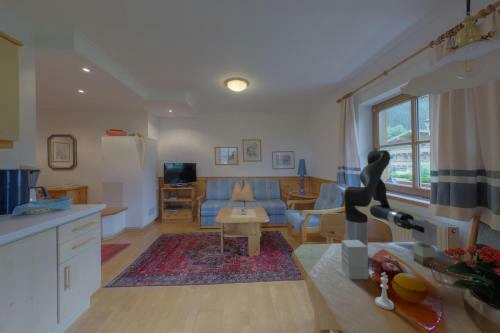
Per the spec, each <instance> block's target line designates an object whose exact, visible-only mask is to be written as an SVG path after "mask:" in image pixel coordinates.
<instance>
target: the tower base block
mask: <svg viewBox="0 0 500 333" xmlns="http://www.w3.org/2000/svg"><path fill="white" fill-rule="evenodd" d="M435 258H436V256H435V257H422V256H420V255H418V254H416V253H415V252H414V251H413V262H416V263H417V264H418V265H420V266H422V267H431V266H430V264H431V265H433V266H432V267H435V266H436V265H435V264H436V262H435V261H436V260H435Z"/></svg>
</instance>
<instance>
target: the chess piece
mask: <svg viewBox="0 0 500 333" xmlns="http://www.w3.org/2000/svg"><path fill="white" fill-rule="evenodd" d="M380 274H381V276H382V277H380V281H381V283H380V285H379V286H380V287H381V290H382V291H381V296H377V297H376V298H375V299H374V301H375V302H374V303H375V304H376V305H377V306H378V307H380V308H381V309H385V310H394V309H395V305H394V302H393V301H391V299H389V298H388V292H387V289H389V285H387V284H388V282H389V279H388V275H387V274H386V272H385V271H384V272H381V273H380Z"/></svg>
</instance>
